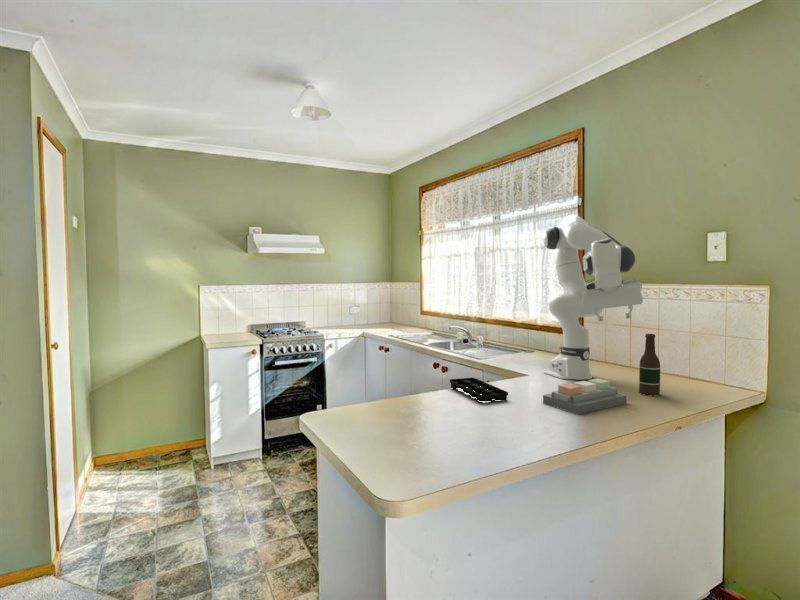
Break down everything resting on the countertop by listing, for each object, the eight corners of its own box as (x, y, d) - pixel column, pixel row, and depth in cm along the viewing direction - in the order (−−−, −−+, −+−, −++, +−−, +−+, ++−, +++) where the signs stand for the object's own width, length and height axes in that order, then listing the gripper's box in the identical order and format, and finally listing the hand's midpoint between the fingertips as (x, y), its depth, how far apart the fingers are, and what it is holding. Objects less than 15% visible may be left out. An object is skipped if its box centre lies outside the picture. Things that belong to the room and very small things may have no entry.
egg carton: (469, 384, 201) (469, 376, 201) (520, 399, 176) (520, 389, 176) (438, 389, 192) (438, 381, 192) (486, 406, 167) (486, 396, 167)
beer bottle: (655, 391, 184) (656, 332, 182) (664, 396, 176) (665, 335, 175) (635, 391, 184) (635, 332, 183) (643, 396, 177) (644, 335, 175)
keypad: (543, 403, 169) (543, 389, 168) (590, 393, 181) (590, 381, 181) (578, 414, 155) (578, 399, 154) (626, 403, 167) (626, 390, 167)
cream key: (573, 390, 169) (573, 382, 169) (583, 388, 171) (583, 380, 171) (585, 393, 164) (585, 385, 164) (596, 391, 167) (596, 383, 166)
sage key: (587, 387, 173) (587, 380, 172) (597, 386, 175) (597, 378, 175) (600, 391, 168) (600, 383, 168) (610, 389, 170) (610, 381, 170)
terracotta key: (558, 393, 165) (558, 385, 165) (568, 391, 168) (568, 383, 167) (570, 396, 160) (570, 388, 160) (581, 394, 163) (581, 386, 163)
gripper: (640, 277, 163) (646, 315, 163) (581, 286, 174) (587, 321, 174) (640, 278, 158) (646, 317, 158) (578, 287, 169) (584, 323, 168)
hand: (614, 319), depth 166 cm, fingers open, 8 cm apart
